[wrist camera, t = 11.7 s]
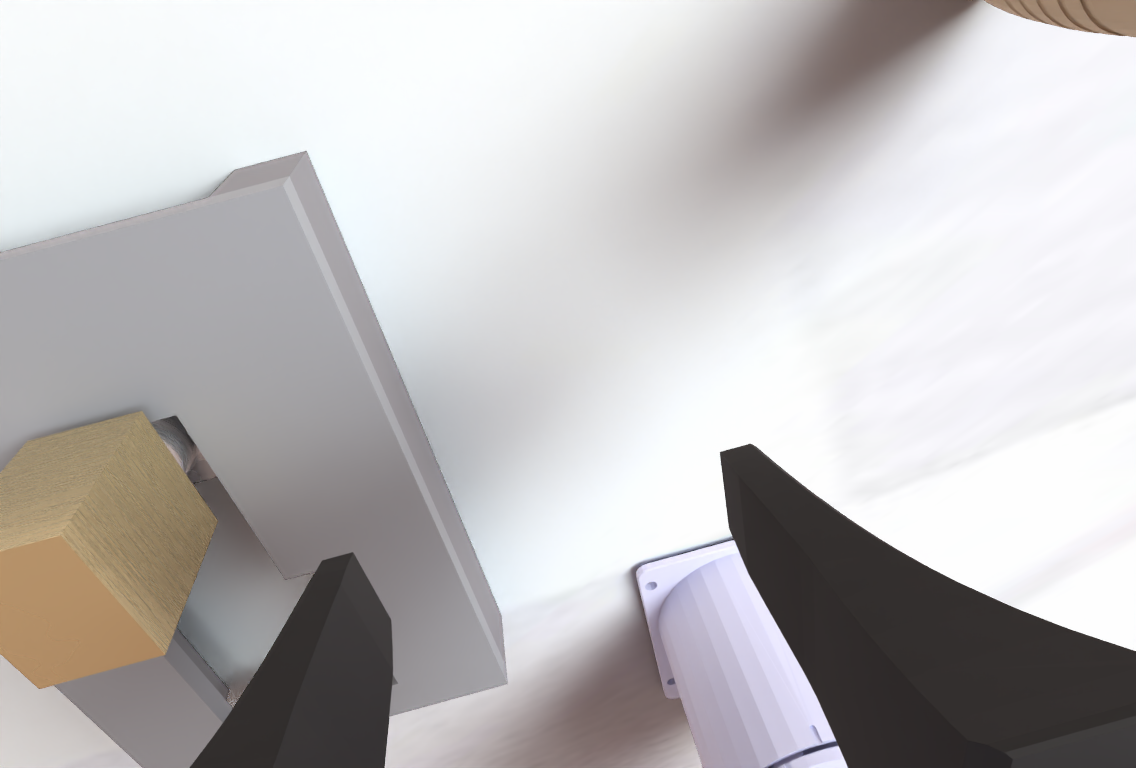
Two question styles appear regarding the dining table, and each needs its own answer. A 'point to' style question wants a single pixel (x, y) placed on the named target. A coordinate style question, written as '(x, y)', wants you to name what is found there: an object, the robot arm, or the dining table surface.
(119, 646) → the keyhole peg
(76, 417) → the keyhole board
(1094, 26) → the handle
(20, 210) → the dining table surface
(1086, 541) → the dining table surface
